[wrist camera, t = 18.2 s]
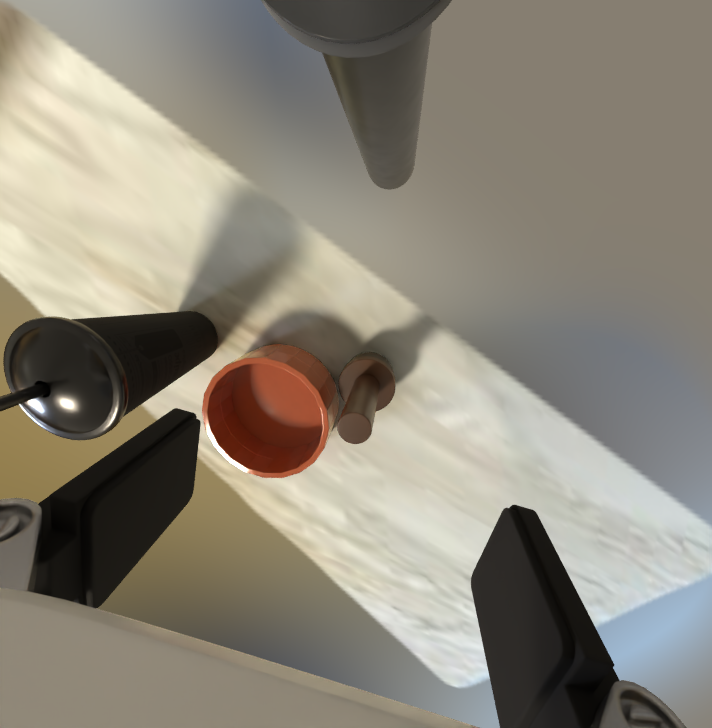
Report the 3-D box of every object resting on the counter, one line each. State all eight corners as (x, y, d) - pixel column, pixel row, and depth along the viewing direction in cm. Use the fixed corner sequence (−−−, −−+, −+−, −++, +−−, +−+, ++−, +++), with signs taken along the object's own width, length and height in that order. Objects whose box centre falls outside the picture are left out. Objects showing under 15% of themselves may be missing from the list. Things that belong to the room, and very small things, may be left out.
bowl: (237, 330, 33) (209, 342, 28) (350, 361, 32) (341, 378, 28) (223, 432, 36) (196, 457, 31) (325, 461, 36) (313, 492, 31)
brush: (351, 343, 32) (325, 383, 21) (402, 357, 32) (402, 405, 21) (339, 391, 33) (310, 450, 23) (387, 404, 33) (381, 471, 23)
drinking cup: (164, 283, 32) (-174, 312, 13) (240, 313, 32) (8, 386, 13) (150, 356, 35) (-156, 470, 16) (221, 385, 35) (0, 535, 16)
